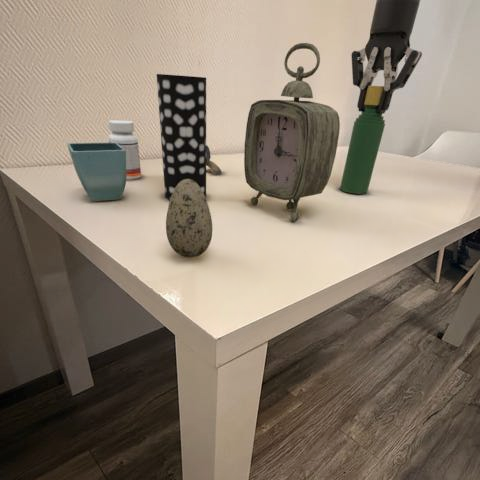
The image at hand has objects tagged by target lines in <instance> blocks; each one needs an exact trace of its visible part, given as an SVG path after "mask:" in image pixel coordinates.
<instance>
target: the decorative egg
mask: <svg viewBox="0 0 480 480" xmlns="http://www.w3.org/2000/svg"><path fill="white" fill-rule="evenodd" d="M210 210H211V209H210V207H209V204H208V200H207V197H206V198H205V195H204V193H203V191H202V190H201V188H200V187H199V185H198V184H197V183H196V182H195V181H193V180H191V179H184V180H182V181H181V182H180V183H178V185H177V186H176V188H175V189H174V191H173V194H172V196H171V199H170V200H169V202H168V207H167V210H166V217H165V233H166V237H167V241H168V243H169V245H170V248H172V250H173V251H174V252H175V253H176V254H177V255H179V256H180V257H183V258H185V259H195V258H198V257H201V256H202V255H203V254H204V253H205V252H206V251H207V250H208V249H209V246H210V245H211V242H212V237H213V219H212V214H211V211H210Z"/></svg>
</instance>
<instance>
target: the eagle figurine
mask: <svg viewBox="0 0 480 480" xmlns="http://www.w3.org/2000/svg"><path fill="white" fill-rule="evenodd" d="M206 167H208V168H209V169H210V172H211V173H212V174H213V175H217V176H221V175H222V173H223V171H222V169H221V168H220V167H219V166H218V165H217V164H216V163H215V162H214V161H213V160H211V150H210V148H209V146H208V145H207V144H206Z"/></svg>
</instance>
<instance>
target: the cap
mask: <svg viewBox="0 0 480 480" xmlns="http://www.w3.org/2000/svg"><path fill="white" fill-rule="evenodd" d="M384 91H385V90H384V85H371V86H368V89H367V93H366V98H365V102H364V104H365V105H376V106H379V103H380V99H381V95H382V92H384Z"/></svg>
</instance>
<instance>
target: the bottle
mask: <svg viewBox="0 0 480 480" xmlns="http://www.w3.org/2000/svg"><path fill="white" fill-rule="evenodd" d="M378 107H379V106H376V105H367V108H365V110H364V112H361V113H360V114H359V115H358V117H356V118H355V120H354V122H353V125H352V131H351V136H350V139H349V145H348V149H347V155H346V159H345V164H344V168H343V173H342V176H341V182H340V187H339V189H340V191H343V192H346V193H350V194H358V195H360V194H361V195H363V194H367V193H368V191H369V187H370V183H371V179H372V176H373V173H374V168H375V164H376V161H377V157H378V153H379V148H380V145H381V143H382V142H381V141H382V137H383V134H384V130H385V127H386V123H385V122H386V120H385V119H384V116H383V114H381V113H378Z"/></svg>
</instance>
